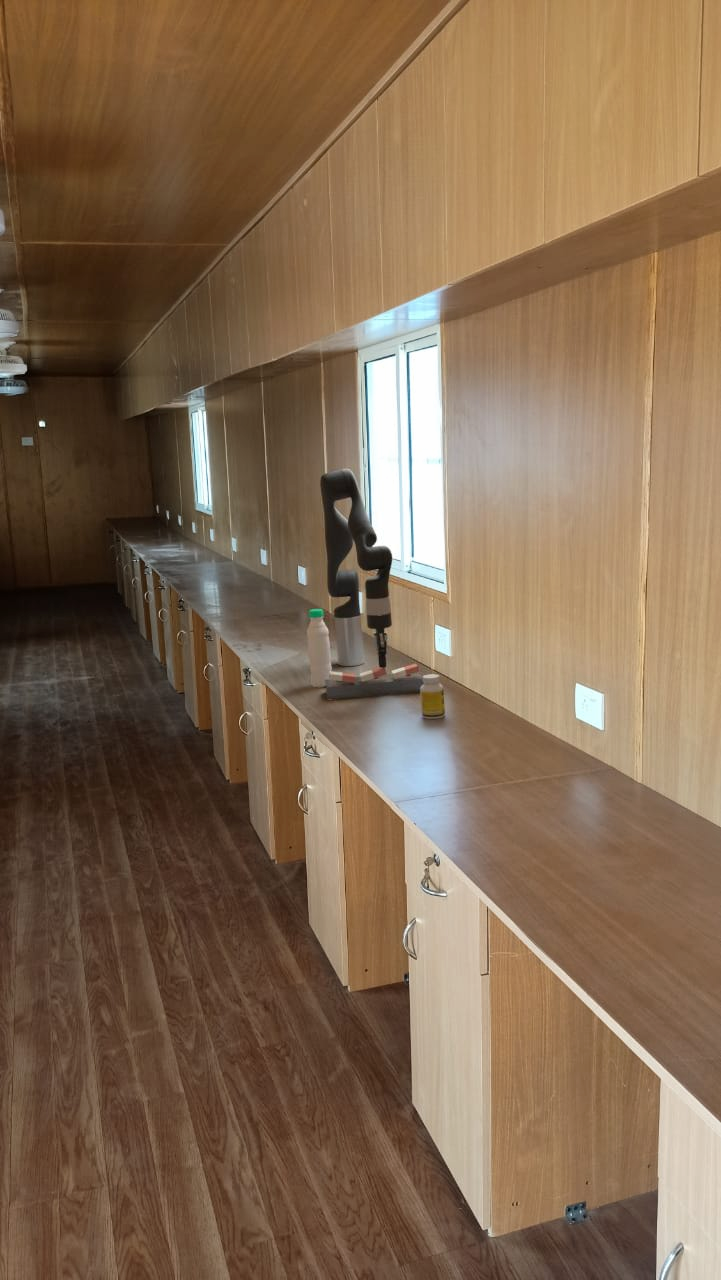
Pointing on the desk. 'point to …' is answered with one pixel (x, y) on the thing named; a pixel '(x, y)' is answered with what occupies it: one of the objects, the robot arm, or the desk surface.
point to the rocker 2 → (372, 674)
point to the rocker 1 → (341, 676)
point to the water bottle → (318, 649)
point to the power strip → (374, 686)
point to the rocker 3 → (405, 671)
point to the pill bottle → (432, 697)
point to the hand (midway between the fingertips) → (382, 667)
